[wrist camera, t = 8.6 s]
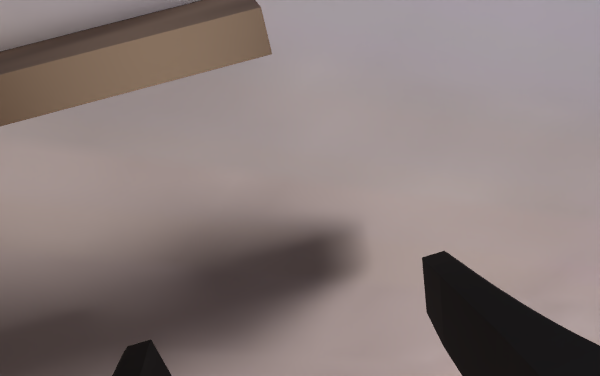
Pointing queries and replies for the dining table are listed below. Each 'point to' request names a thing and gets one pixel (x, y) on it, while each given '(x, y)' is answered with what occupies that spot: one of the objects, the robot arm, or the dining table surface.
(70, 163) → the dining table surface
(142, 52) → the walnut cradle
